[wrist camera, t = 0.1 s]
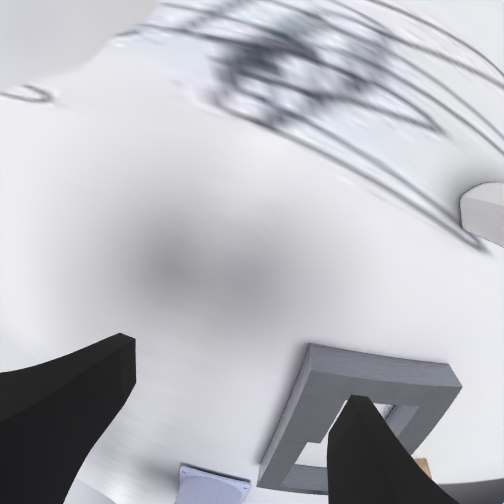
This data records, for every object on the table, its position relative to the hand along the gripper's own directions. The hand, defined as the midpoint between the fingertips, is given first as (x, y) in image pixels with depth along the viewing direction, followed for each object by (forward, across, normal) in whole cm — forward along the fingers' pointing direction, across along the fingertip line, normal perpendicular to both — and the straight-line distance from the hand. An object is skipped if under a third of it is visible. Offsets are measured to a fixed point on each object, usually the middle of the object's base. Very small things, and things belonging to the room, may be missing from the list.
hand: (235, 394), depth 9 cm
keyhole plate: (+10, -10, +12) cm, 18 cm away
